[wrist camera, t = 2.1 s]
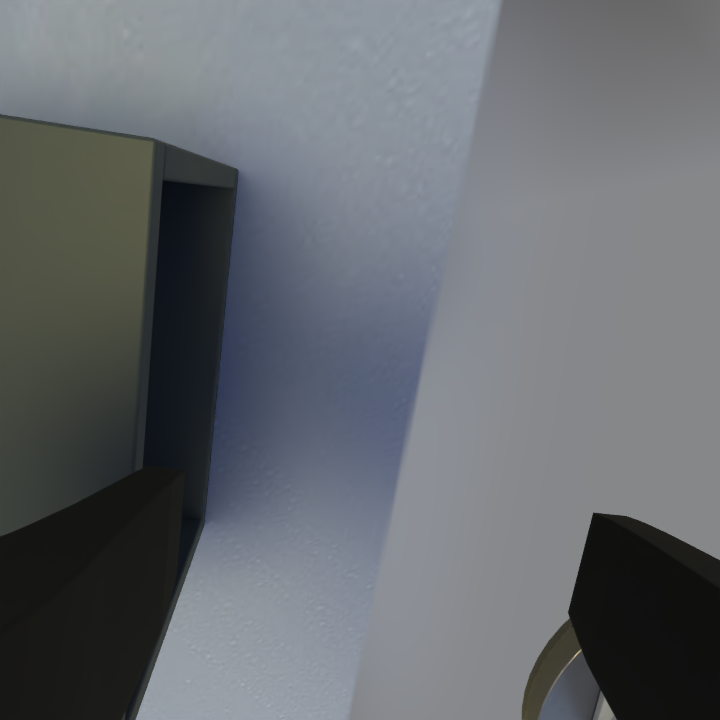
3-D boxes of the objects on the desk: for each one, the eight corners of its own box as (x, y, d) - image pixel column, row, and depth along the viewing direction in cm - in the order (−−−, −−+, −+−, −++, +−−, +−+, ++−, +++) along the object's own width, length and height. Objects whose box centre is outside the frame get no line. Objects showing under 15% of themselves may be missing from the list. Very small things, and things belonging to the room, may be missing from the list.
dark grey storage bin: (238, 169, 19) (156, 138, 10) (204, 526, 22) (113, 783, 12) (-38, 126, 18) (-434, 46, 9) (-37, 502, 21) (-336, 755, 12)
